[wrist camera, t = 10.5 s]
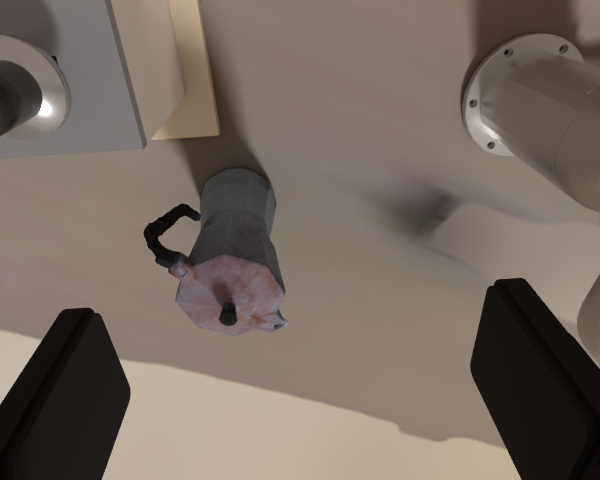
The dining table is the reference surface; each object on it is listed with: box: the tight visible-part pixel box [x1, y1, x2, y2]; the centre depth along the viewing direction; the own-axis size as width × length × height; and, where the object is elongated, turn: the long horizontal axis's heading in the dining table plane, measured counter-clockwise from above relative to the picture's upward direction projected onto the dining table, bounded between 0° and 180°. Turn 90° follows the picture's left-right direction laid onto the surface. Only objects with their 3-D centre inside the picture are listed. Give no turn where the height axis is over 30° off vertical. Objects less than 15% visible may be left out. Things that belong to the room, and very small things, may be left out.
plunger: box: [0, 33, 71, 141], centre depth 29 cm, size 8×8×23 cm
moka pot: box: [143, 168, 288, 336], centre depth 42 cm, size 10×15×20 cm, turn 51°
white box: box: [0, 0, 220, 159], centre depth 34 cm, size 15×19×18 cm
